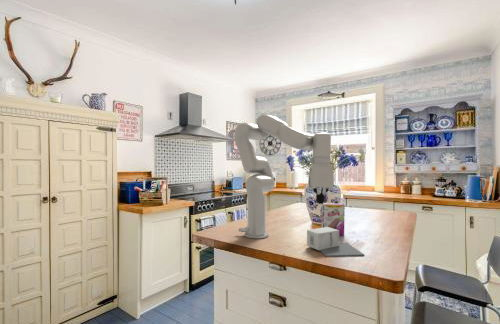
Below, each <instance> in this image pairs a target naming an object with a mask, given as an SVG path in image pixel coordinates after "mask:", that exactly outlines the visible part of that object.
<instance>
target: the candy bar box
mask: <svg viewBox="0 0 500 324" xmlns="http://www.w3.org/2000/svg"><path fill="white" fill-rule="evenodd" d="M345 207H346V206H345V204H343V203H335V202H334V203H330V202H329V203H328V202H323V204H321V228H324V227H330V228H333V229H336V230H339V237H340V236H343V237H344V236H345V209H346V208H345Z"/></svg>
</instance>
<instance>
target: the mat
mask: <svg viewBox="0 0 500 324" xmlns="http://www.w3.org/2000/svg"><path fill="white" fill-rule="evenodd" d="M318 251H319V252H320V253H321V254H322V255H323V256H324V257H326V258H330V257H333V258H334V257H338V258H339V257H365V253H363V252H361V251H360V250H358V249H357V248H356V247H354V246H352V245H351V244H349V243H348V242H339V246H337V247H332V248H327V249H322V250H318Z"/></svg>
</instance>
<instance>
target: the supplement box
mask: <svg viewBox="0 0 500 324" xmlns="http://www.w3.org/2000/svg"><path fill="white" fill-rule="evenodd" d="M339 243H340V236H339V230H336V229H333V228H330V227H324V228H322V227H319V228H317V227H316V228H312V229H307V230H306V246H307V247H309V248H312V249H314V250H317V251H319V250H322V249H327V248H332V247H337V246H339Z"/></svg>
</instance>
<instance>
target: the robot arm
mask: <svg viewBox="0 0 500 324" xmlns="http://www.w3.org/2000/svg"><path fill="white" fill-rule="evenodd" d="M233 134H234V135H233V138H234V143H235V145H236V148H237V150H238V154H239V158H240V161H241V164H242V167H243V170H244V172H245V173H246V174H249V175H250V174H251V175H250V176H249V177H247V179H246V181H245V190H246V196H247V199H246V200H247V202H246V203H247V225H246V227H245V226H244V227H238V232H241V233H244V236H245V237H246V238H249V239H255V240H256V239H264V238H267V237H269V235H270V234H269V232H268V231H266V225H267V224H266V221H267V220H266V215H267V214H266V211H267V210H266V209H267V208H266V205H267V203H266V197H265V194H264V193H269V192H272V190H273V189H274V187H275V182H276V181H275V179H274V175H273V172H272V168H271V166H270V163H269V161H268V160H267V158H265V157H264V156H258V155H257V154H256V151H255V148H254V146H253V144H252V142H251V141H250V140H253V141H254V140H255V141H261V140H263V139H265V138H268V137H270V136H273V137H275V138H277V139H278V140H279V141H280V142H281V143H283V144H285V145H287V146H289V147H292V148H293V149H295V150H296V149H297V150H304V151H312V156H311V158H309V159H308V161H309V162H311V164H310V166H309V171H308V187H307V189H308V190H310V191H313V192H314V193H315V195H316V196H315V200H316V201H315V202H316V203H317V204H318V205H322V204H323V203H325V196H326V194H327V192H330V191H333V190H334V185H335V179H334V177H335V176H334V168H333V165H332V164H331V151H332V150H331V149H332V148H331V146H332V145H331V144H332V141H331V140H332V136H331V134H330V133H329V132H328V133H327V132H316V133H314V134H311V133H307V132H306V133H305V132H302V131H299V130H298V129H297V130H296V129H294V128H292V127H290V126H289V124H288V123H287V122H285V121H283V120H281V119H279V118H278V117H277V116H273V115H270V114H265V113H264V114H261V115H259V116H258V117H257V118H256V124H255V123H250V122H241V123H239V124H238V125H237V126H236V127H235V130H234V133H233ZM252 174H253V175H252Z"/></svg>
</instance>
